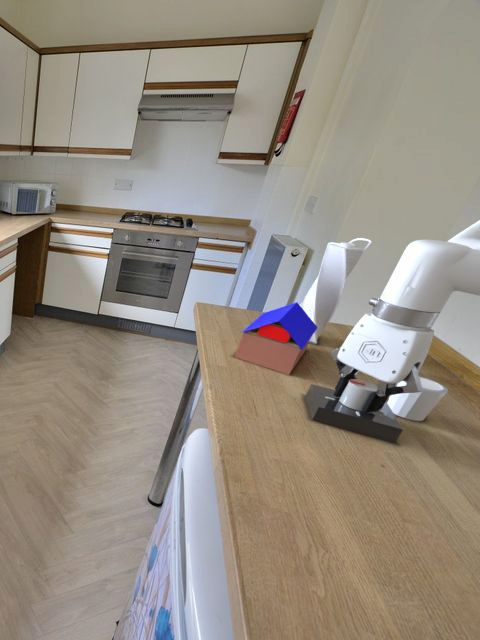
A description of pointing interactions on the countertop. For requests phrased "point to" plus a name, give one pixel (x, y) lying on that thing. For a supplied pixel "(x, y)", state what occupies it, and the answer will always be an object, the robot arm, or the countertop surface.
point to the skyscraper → (330, 283)
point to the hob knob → (357, 394)
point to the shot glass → (417, 400)
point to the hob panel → (352, 415)
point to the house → (277, 338)
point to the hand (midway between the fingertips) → (354, 402)
